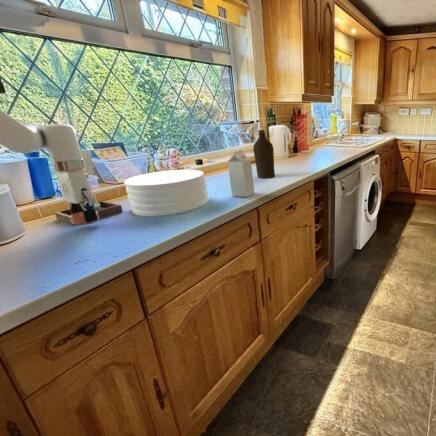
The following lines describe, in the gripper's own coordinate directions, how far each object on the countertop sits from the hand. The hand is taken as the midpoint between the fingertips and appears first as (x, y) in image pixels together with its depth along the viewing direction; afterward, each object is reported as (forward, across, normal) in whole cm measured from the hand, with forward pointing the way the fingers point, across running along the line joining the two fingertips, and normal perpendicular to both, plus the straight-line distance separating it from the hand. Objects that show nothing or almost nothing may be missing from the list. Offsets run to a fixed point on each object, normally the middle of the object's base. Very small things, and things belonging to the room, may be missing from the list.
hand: (85, 219), depth 99 cm
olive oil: (+2, +4, +85) cm, 86 cm away
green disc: (+2, -13, +6) cm, 14 cm away
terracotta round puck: (+1, 0, 0) cm, 1 cm away
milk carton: (+2, +20, +52) cm, 55 cm away
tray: (+3, -13, +6) cm, 15 cm away
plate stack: (+2, +3, +28) cm, 29 cm away
